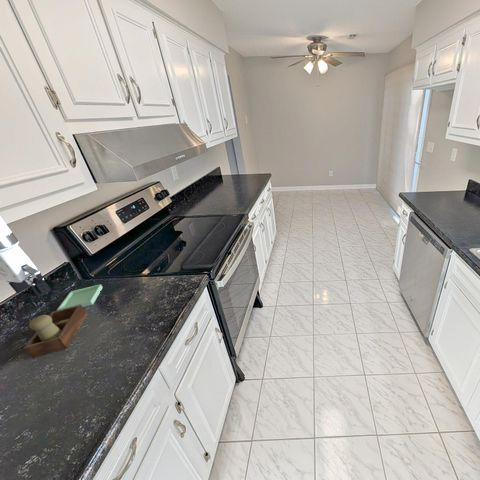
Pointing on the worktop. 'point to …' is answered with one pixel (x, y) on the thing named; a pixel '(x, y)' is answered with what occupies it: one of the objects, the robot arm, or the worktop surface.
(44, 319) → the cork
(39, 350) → the caddy
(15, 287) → the robot arm
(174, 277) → the worktop surface
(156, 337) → the worktop surface
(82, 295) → the tray
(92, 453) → the worktop surface
